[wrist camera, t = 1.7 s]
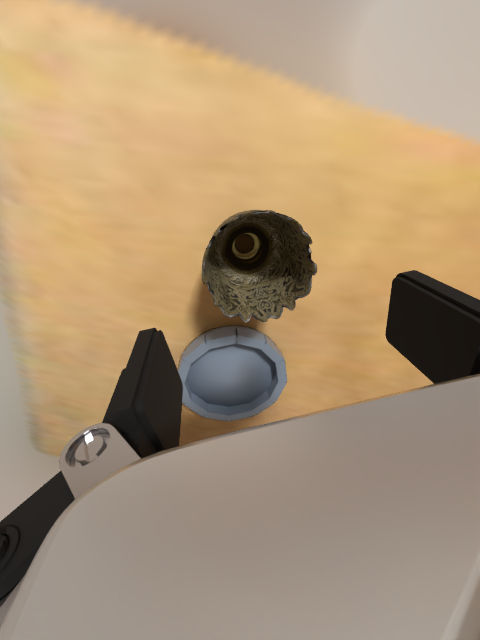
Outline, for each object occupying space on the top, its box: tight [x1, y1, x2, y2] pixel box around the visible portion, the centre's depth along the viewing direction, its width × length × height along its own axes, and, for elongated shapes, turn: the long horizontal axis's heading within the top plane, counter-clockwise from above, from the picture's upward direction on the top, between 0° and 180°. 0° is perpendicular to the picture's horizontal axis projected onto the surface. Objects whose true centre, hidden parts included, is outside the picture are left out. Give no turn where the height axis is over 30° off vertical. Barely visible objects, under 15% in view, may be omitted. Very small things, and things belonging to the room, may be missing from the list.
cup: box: [202, 210, 317, 323], centre depth 20 cm, size 8×7×8 cm
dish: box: [177, 326, 287, 421], centre depth 30 cm, size 12×12×2 cm
